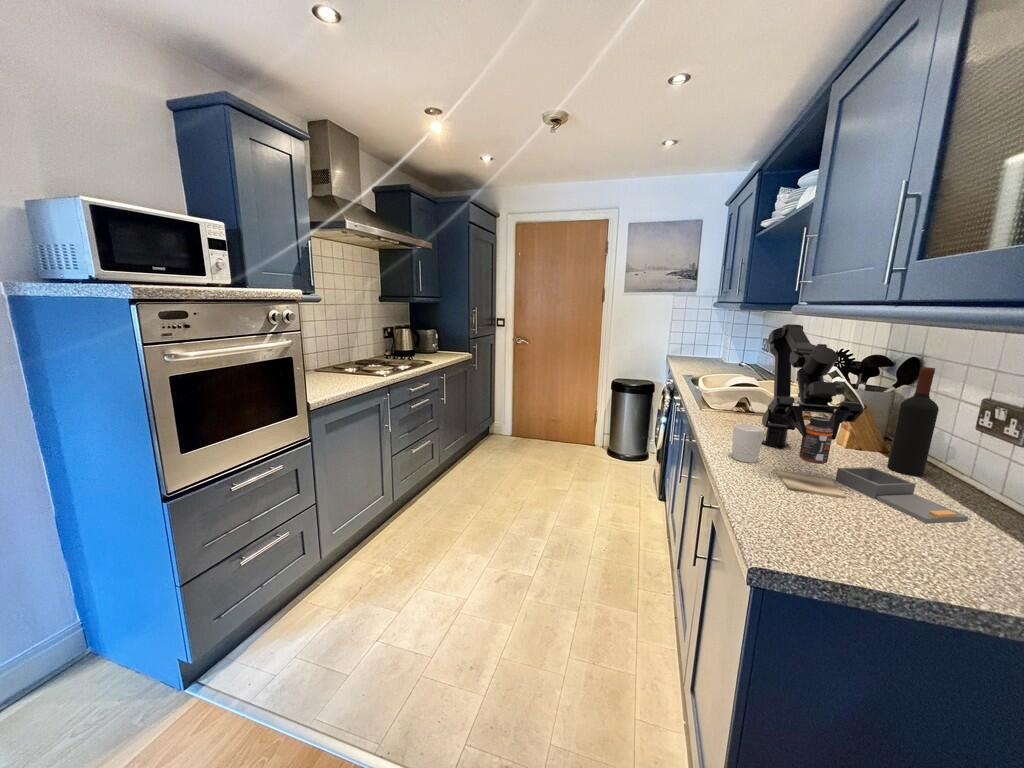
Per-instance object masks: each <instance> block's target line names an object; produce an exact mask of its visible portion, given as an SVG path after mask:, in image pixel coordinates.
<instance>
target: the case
mask: <svg viewBox="0 0 1024 768" xmlns="http://www.w3.org/2000/svg"><path fill="white" fill-rule="evenodd" d="M835 481H836V482H838V483H840V484H842V485H844V486H846V487H849V488H851V489H853V490H855V491H857V492H859V493H862V495H863V494H864V495H865V496H867V497H870V498H872V499H874V500H876V501H879V502H880V503H883V504H885V505H886V506H889V507H892V508H893V509H896V510H897V511H899V512H902V513H903V514H905V515H908V516H909V517H913V518H914V519H915V520H918V521H920V522H922V523H925V524H931V523H951V522H953V521H954V522H967V521H969V516H967V515H965V514H963V513H961V512H958V511H956V510H954V509H951V508H948V507H946V506H943V505H942V504H939V503H938V502H934V501H932V500H929V499H927V498H925V497H923V496H920V495H919V494H915V489H916V485H917V484H916V483H914V482H911V481H909V480H907V479H904V478H901V477H899V476H896V475H894V474H891V473H889V472H886V471H883V470H881V469H878V468H877V467H873V466H867V467H866V466H865V467H864V466H863V467H837V470H836V476H835Z"/></svg>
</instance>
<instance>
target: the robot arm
mask: <svg viewBox="0 0 1024 768" xmlns="http://www.w3.org/2000/svg"><path fill="white" fill-rule="evenodd" d="M767 343H768V344H769V351H770V352H771V354H772V355H773V356H774V376H773V377H774V379H773V380H774V383H773V399H772V400H771V401H770V403H769V404H768V405H767V409H766V410H765V412H764V414H763V416H762V417H761V425H763V428H766V435H765V440H762V444H761V445H765V444H766V445H765V446H769V445H770V447H773V448H777V449H785V448H787V447H789V446H790V443H787V438H788V431H789V430H791V431H795V429H796V430H797V431H798V433H800V435H801V436H802V437H805V436H806V428H805V425H806V424H805V420H804V415H803V414H804V412H807V413H818V414H829V416H830V417H829V419H830V425H829V426H830V428H831V429H832V430H833V435H832V440H833V441H835V440H836V438H837V435H838V433H839V430H840V425H841V424H843V423H844V422H845V423H846V422H847V423H852V422H853V423H854V422H855V421H856V420H857V419H858V418H860V416H861V415H862V414H863V413H864V407H863V405H862V403H860V402H856V401H855V402H853V401H844V400H843V401H841V402H840V403H839V404H838V406H837V405H829V403H830V404H831V403H832V401H833V397H836V396H841V395H843V394H845V392H846V386H845V382H844V381H842V380H840V381H839V380H834V381H833V382H832V381H831V382H830V381H825V379H824V376H827V375H828V374H829V372H830V371H831V370H832V369H833V367H834V365H835V363H836V362H837V360H838V358H839V354H838V352H837V351H835V350H834V349H832V348H830V347H828V346H827V343H825V344H823V343H817V344H816V345H815V344H812V343H811V342H810V340H809V338H808V336H807V335H806V333H805V331H804V326H803V325H801V324H791V323H790V324H789V323H788V324H787V323H786V324H784V325H782V327H778V328H776V329H773V330H772V331H771V332H770V333H769V335H768V338H767ZM792 368H797V369H798V370H797V372H796V382H797V386H798V393H797V397H798V398H799V400H800V401H799V400H795V397H792V396H791V393H792V392H791V391H792V390H791V388H792V387H791V386H792V385H791V384H792V383H791V382H792Z"/></svg>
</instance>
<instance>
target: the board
mask: <svg viewBox="0 0 1024 768" xmlns="http://www.w3.org/2000/svg"><path fill="white" fill-rule="evenodd" d="M775 473H776V475H777V476H778V477H779V479H780V480H781V482H782V483H783V484H784V486H785V488H786V489H787V491H793V492H800V493H806V494H813V495H814V494H815V495H821V496H826V497H834V498H835V497H836V498H840V499H847V495H846V494H845V493H844V492H843V491H842V490H841V489H840V488H839V487H838V486H837V485H836V484H835V483H834V482H833V481H832V480H831V479H830V478H829V477H828V476H822V475H816V474H815V475H814V474H810V473H809V474H807V473H800V472H793V471H786V470H778V469H775Z"/></svg>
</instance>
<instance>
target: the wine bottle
mask: <svg viewBox="0 0 1024 768" xmlns="http://www.w3.org/2000/svg"><path fill="white" fill-rule="evenodd" d="M935 372H936V368H935V367H929V366H921V367H920V369H919V375H918V380H917V384H916V387H915V393H914V394H913V395H912V396H910V397H908V398H905V399H904V400H903V401H902V402H901V403H900V405H899V409H898V415H897V420H896V424H895V429H894V433H893V438H892V442H891V447H890V452H889V455H888V461H887V465H886V468H887V467H888V468H889V469H890V470H889V469H888V468H887V469H888V470H889V471H891V470H892V471H891V472H894V471H895V472H894V473H897V474H900V473H901V475H904V474H905V476H909V475H910V477H922V476H924V475H925V474H924V473H925V471H926V466H927V462H928V461H927V460H928V457H929V454H930V453H929V452H930V448H931V444H932V439H933V436H934V432H935V428H936V422H937V419H938V414H939V408H940V407H939V406H938V404H937V402H935V401H934V400H933V399H931V397H930V392H931V389H932V384H933V380H934V375H935Z"/></svg>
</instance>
